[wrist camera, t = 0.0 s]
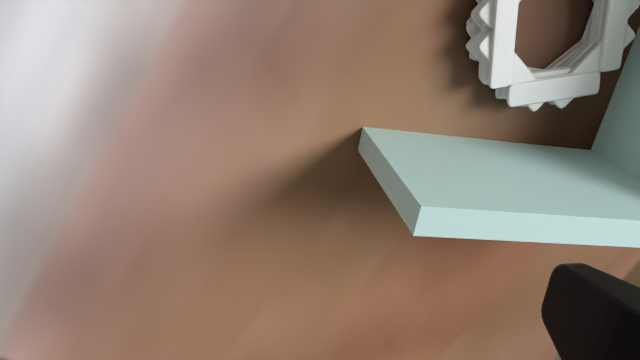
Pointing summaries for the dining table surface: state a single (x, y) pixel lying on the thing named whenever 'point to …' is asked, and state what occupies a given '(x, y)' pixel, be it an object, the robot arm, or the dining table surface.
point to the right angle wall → (527, 146)
